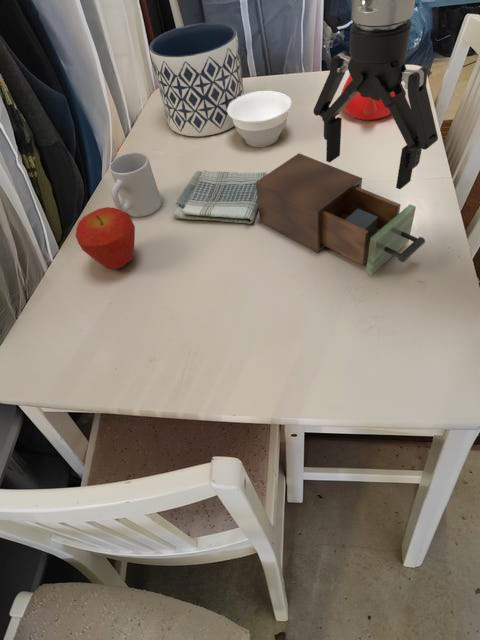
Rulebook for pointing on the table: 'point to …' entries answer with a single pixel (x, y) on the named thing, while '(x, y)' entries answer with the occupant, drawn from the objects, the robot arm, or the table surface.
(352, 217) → the block
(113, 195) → the mug
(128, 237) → the apple
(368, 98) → the teapot
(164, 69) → the planter
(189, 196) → the dish towel
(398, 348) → the table surface
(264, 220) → the cabinet
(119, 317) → the table surface
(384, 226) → the drawer
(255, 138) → the bowl
